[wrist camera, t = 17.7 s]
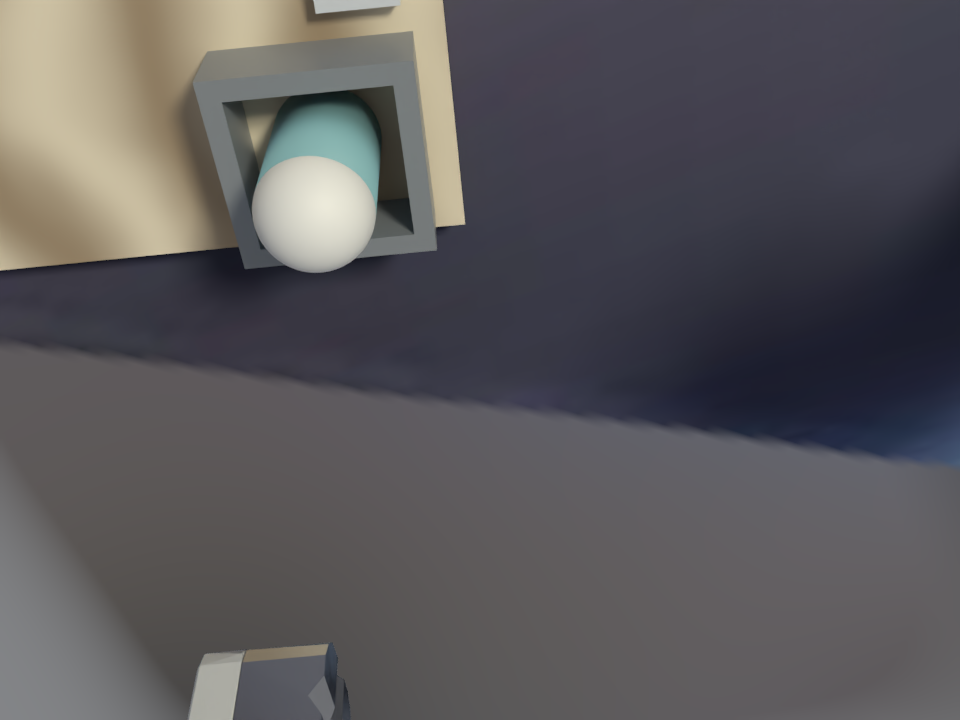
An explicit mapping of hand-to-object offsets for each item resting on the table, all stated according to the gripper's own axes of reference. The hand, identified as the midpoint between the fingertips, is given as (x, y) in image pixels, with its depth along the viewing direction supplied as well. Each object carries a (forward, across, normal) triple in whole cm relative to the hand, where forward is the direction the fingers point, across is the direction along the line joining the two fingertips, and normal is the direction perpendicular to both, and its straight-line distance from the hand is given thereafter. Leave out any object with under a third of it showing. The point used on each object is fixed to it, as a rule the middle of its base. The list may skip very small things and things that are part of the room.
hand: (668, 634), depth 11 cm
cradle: (+28, +7, +6) cm, 29 cm away
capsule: (+28, +7, +6) cm, 29 cm away
